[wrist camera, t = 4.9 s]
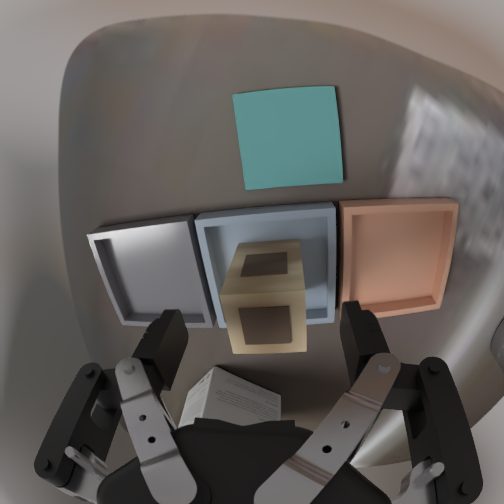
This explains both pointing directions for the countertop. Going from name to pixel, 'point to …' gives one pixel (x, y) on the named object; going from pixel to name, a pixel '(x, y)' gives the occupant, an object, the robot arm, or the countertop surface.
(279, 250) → the letter block
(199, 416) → the skincare box
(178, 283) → the dish charcoal
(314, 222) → the dish slate
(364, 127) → the countertop surface
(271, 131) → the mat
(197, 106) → the countertop surface
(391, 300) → the dish terracotta
